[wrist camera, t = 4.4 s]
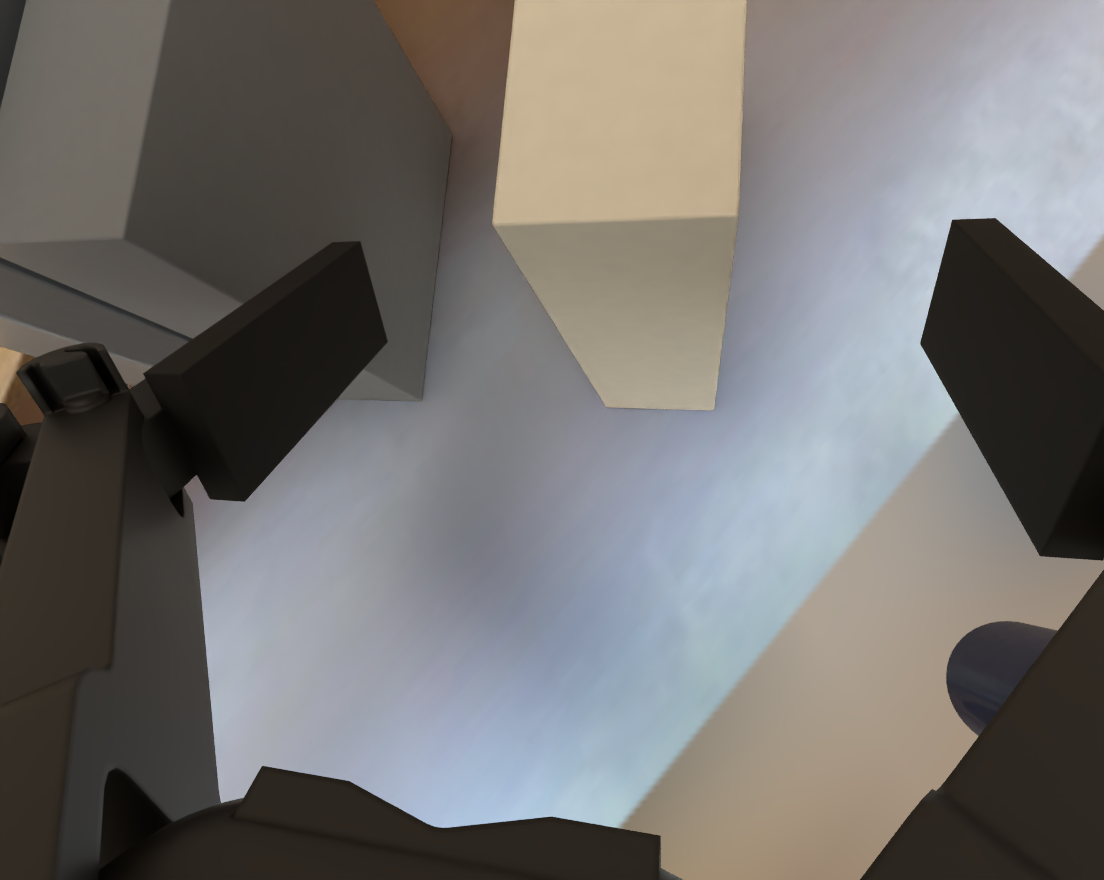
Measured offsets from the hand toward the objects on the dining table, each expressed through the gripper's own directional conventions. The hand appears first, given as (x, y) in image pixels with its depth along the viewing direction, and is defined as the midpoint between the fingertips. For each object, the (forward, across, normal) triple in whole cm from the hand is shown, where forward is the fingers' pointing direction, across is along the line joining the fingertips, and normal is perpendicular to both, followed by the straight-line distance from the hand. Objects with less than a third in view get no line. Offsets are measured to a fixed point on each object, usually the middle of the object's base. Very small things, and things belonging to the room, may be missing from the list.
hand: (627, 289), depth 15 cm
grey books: (+11, +19, +3) cm, 22 cm away
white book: (+10, 0, +3) cm, 11 cm away
